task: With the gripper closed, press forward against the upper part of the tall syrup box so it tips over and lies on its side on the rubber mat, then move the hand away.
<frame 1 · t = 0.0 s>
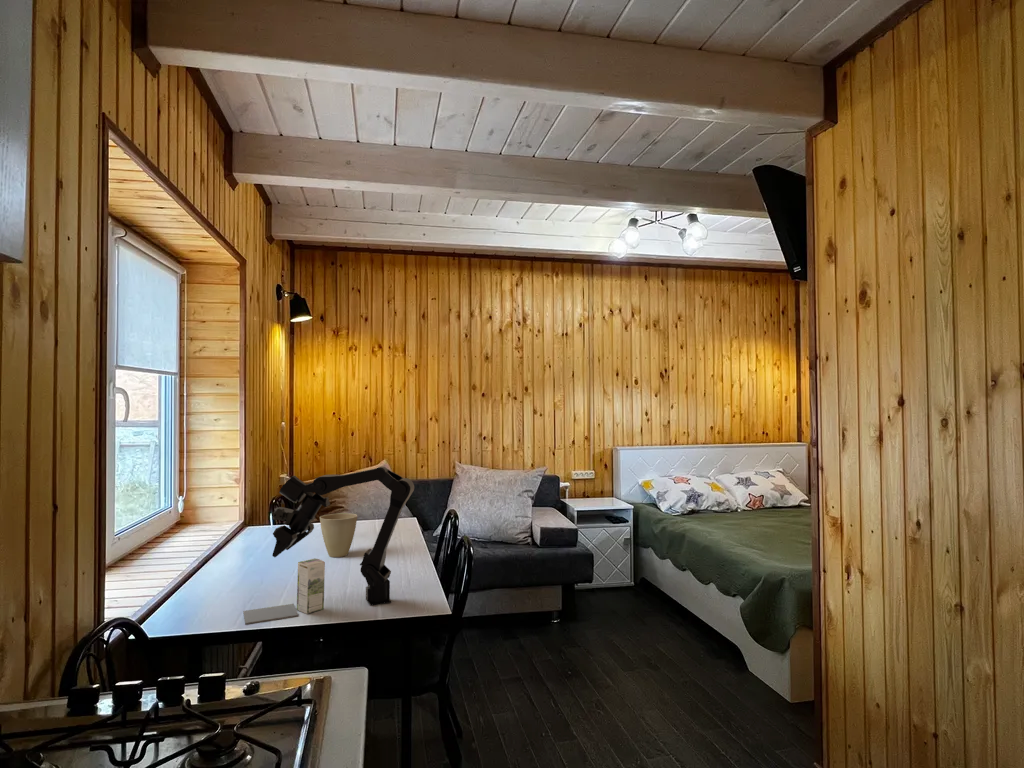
hand: (280, 552, 183), 15 cm above the table, tool tilted 35°, fingers open, 9 cm apart
plant pot: (338, 555, 239), on the table
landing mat: (270, 614, 171), on the table
syrup box: (310, 610, 174), on the table
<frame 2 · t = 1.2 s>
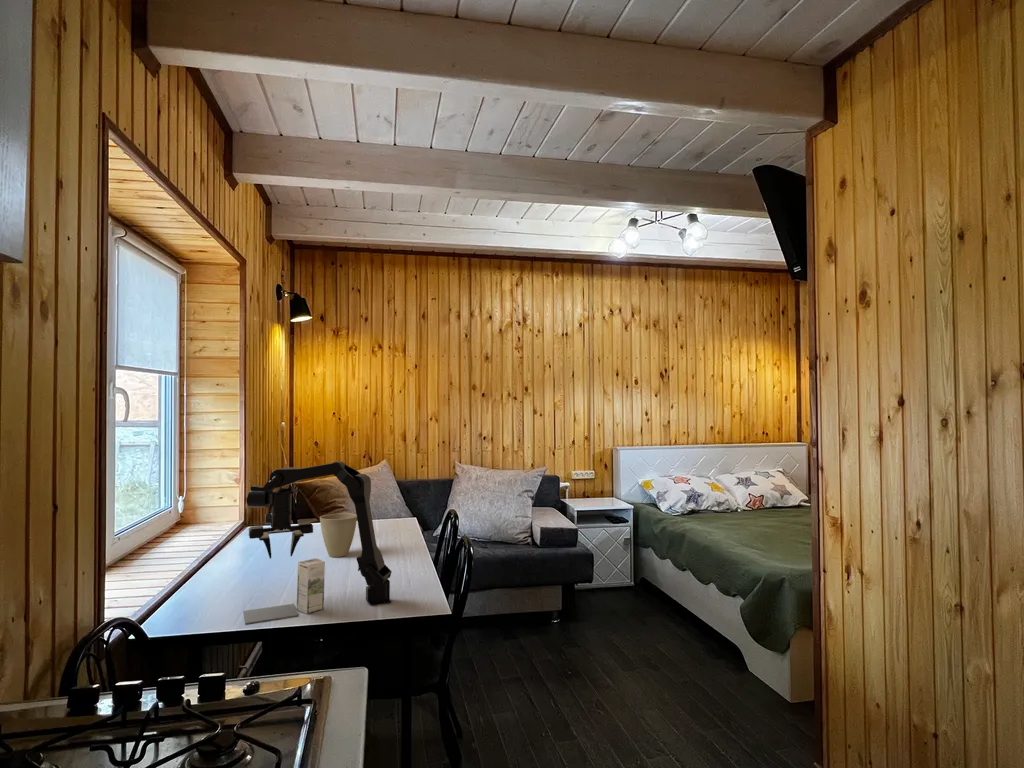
hand: (280, 557, 185), 13 cm above the table, tool pointing down, fingers open, 6 cm apart
nothing on the table moved.
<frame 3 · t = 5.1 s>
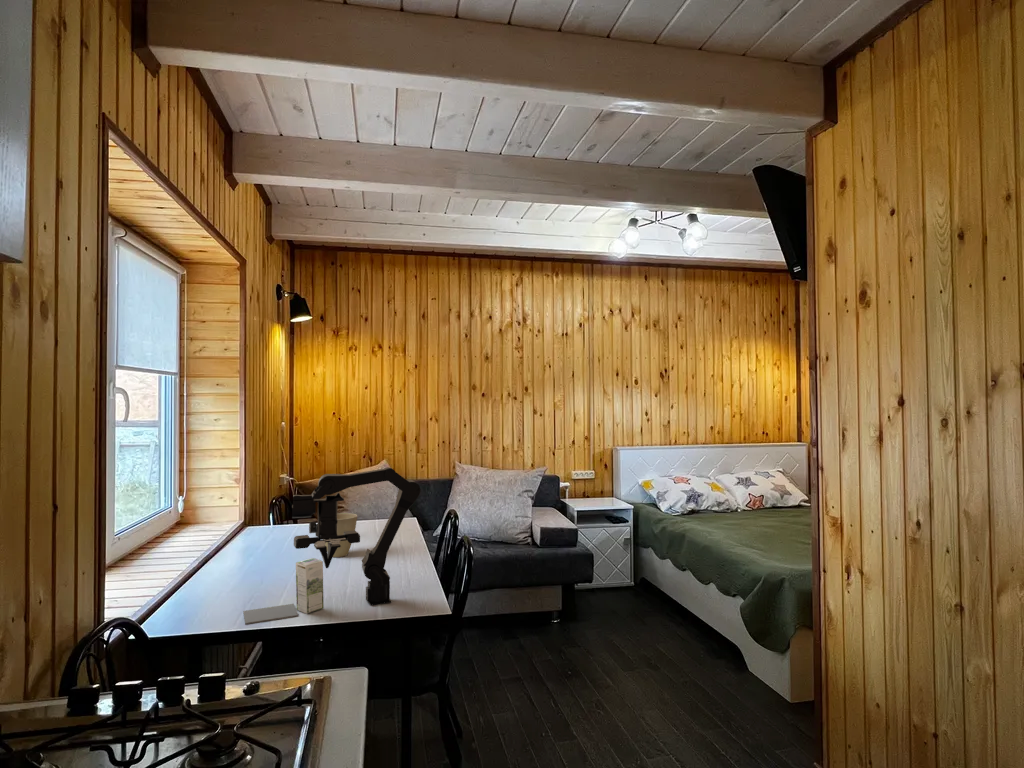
hand: (326, 568, 177), 12 cm above the table, tool pointing down, fingers closed
syrup box: (310, 610, 174), on the table, touching gripper
everything else where it was.
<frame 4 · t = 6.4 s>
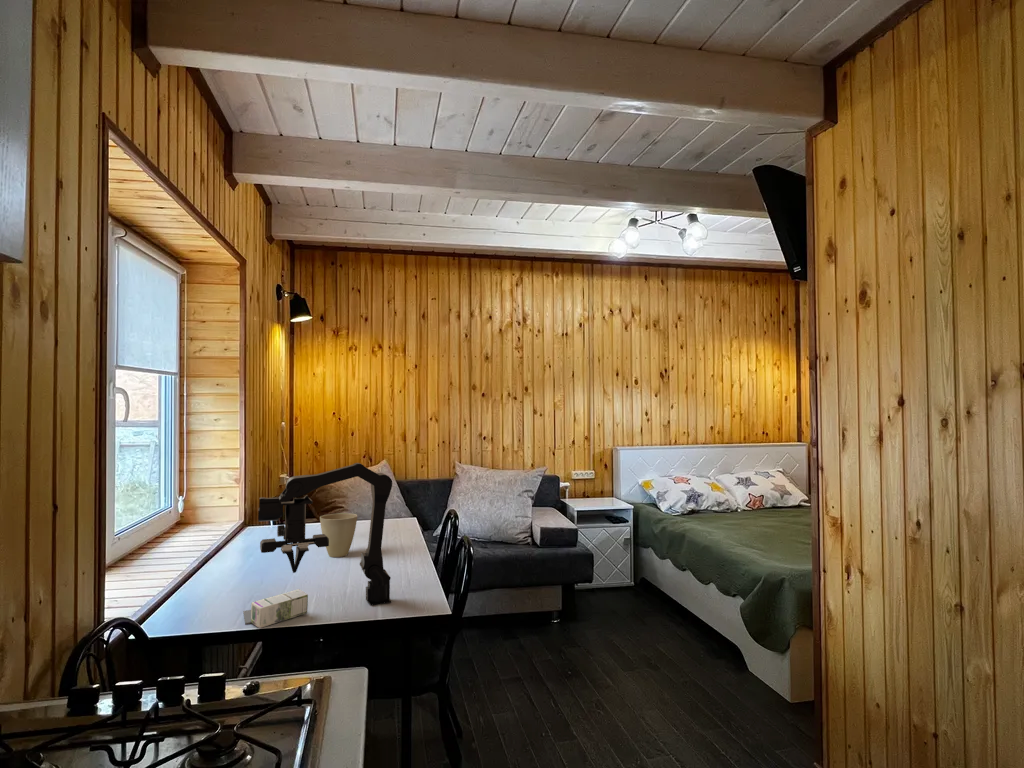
hand: (294, 572, 173), 12 cm above the table, tool pointing down, fingers closed
syrup box: (304, 600, 172), point 3 cm above the table, touching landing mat
everything else where it was.
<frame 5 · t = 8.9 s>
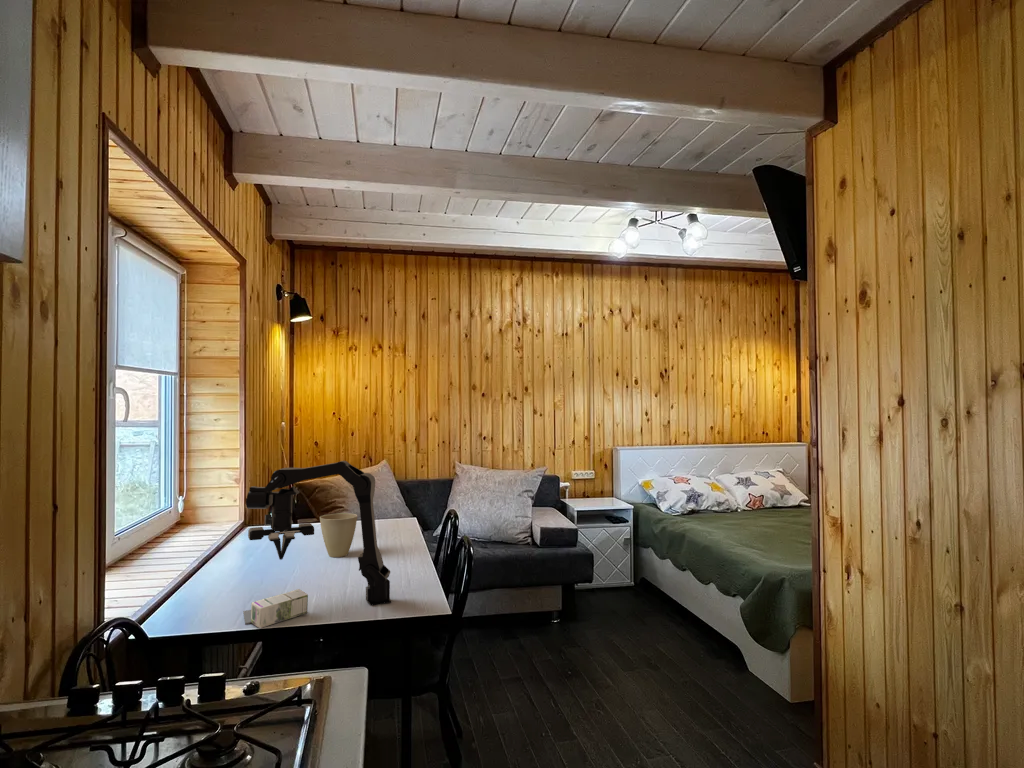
hand: (280, 559, 181), 13 cm above the table, tool pointing down, fingers closed
syrup box: (304, 600, 172), point 3 cm above the table, touching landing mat
everything else where it was.
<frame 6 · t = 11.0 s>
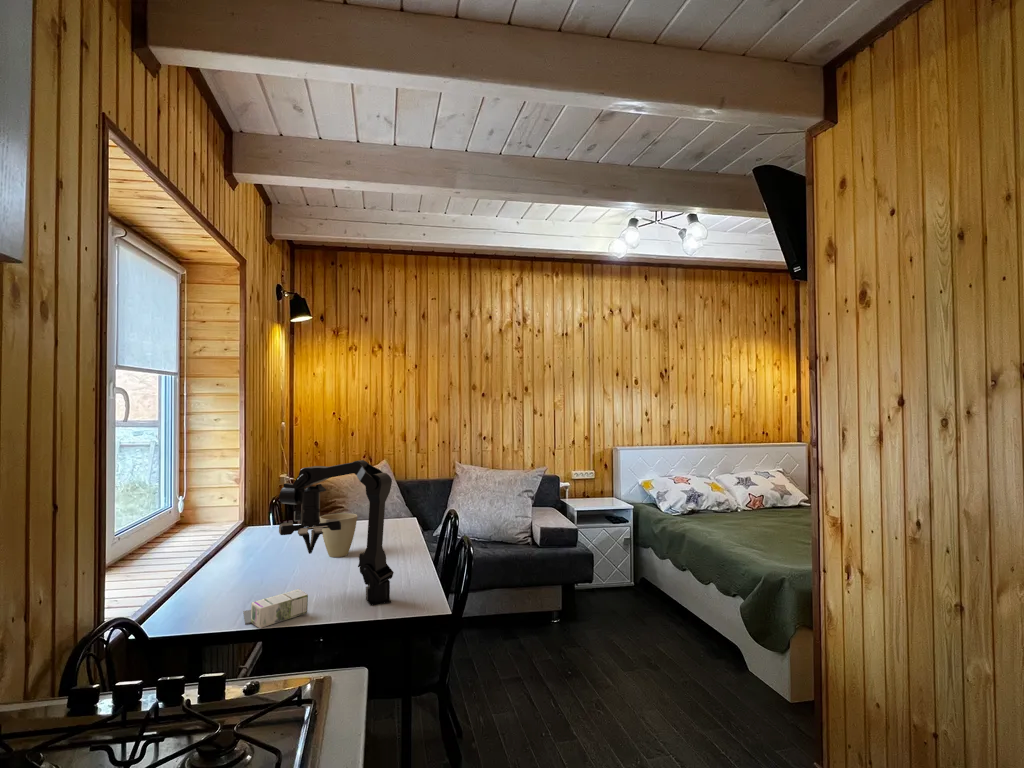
hand: (310, 553, 190), 13 cm above the table, tool pointing down, fingers closed
nothing on the table moved.
at the end: syrup box tilted 92°; syrup box touching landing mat, table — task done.
